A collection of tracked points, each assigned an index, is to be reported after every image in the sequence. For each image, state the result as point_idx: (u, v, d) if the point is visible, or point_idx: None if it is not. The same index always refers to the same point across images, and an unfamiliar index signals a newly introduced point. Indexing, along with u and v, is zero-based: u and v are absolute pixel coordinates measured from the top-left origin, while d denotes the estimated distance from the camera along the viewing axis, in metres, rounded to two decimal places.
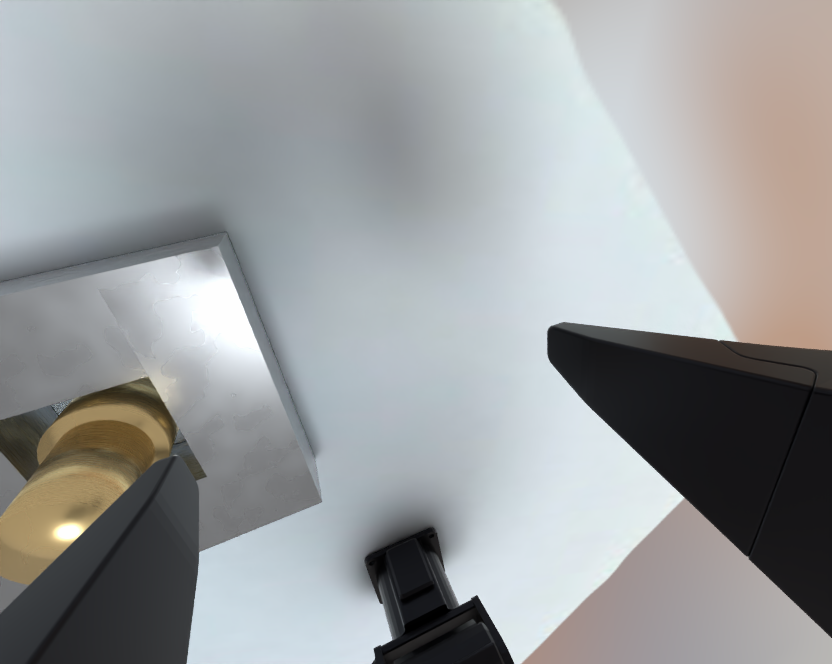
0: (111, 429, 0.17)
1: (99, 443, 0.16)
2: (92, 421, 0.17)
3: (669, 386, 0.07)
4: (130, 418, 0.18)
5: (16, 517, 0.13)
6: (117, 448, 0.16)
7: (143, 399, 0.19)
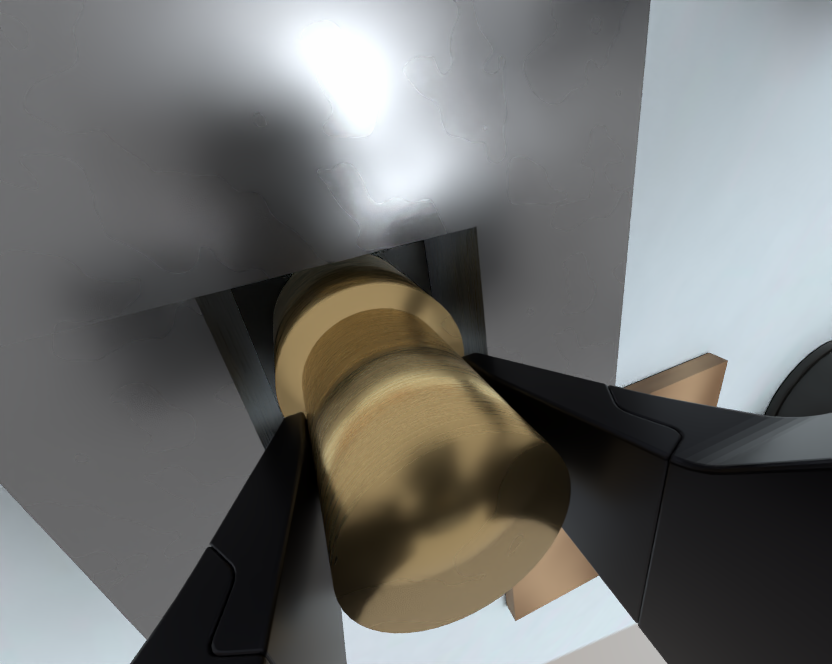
0: (310, 372, 0.08)
1: (312, 401, 0.08)
2: (302, 391, 0.09)
3: (554, 434, 0.06)
4: (305, 339, 0.09)
5: (355, 603, 0.05)
6: (329, 375, 0.07)
7: (292, 310, 0.10)
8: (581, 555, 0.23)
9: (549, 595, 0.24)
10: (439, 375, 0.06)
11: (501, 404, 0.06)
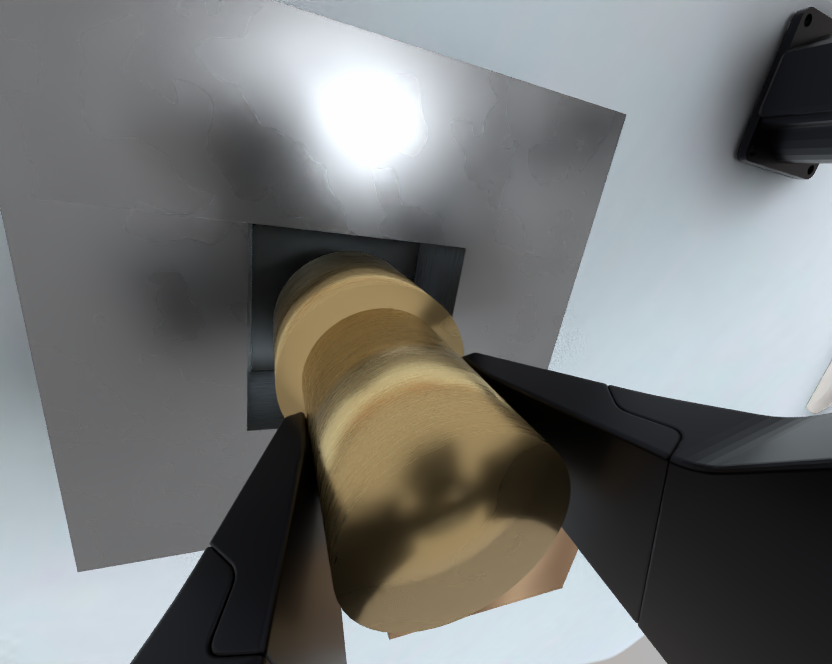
0: (310, 372, 0.08)
1: (312, 401, 0.08)
2: (302, 391, 0.09)
3: (554, 435, 0.06)
4: (304, 339, 0.09)
5: (355, 603, 0.05)
6: (328, 375, 0.07)
7: (292, 310, 0.10)
8: None
9: None
10: (439, 376, 0.06)
11: (501, 404, 0.06)
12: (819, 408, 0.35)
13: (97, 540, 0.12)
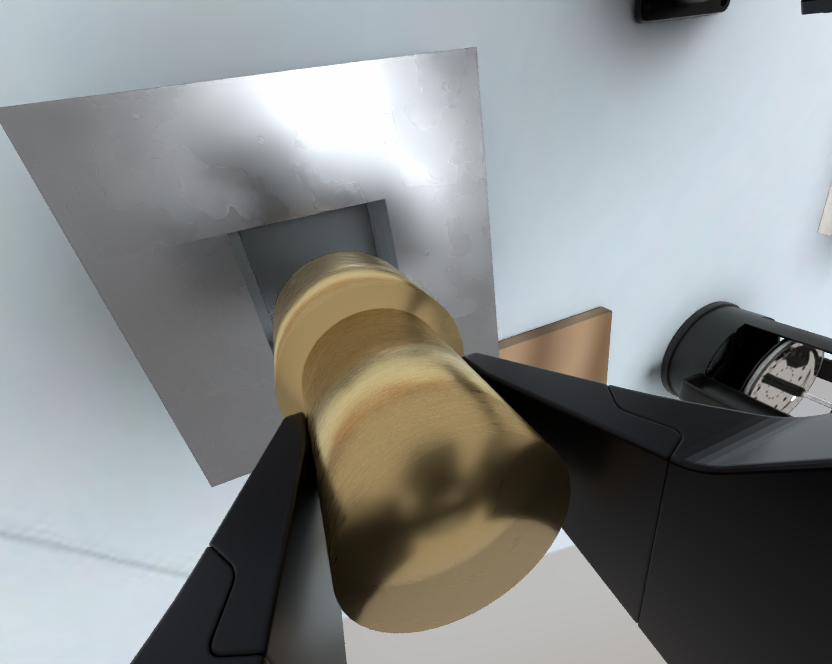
0: (310, 372, 0.08)
1: (312, 401, 0.08)
2: (302, 391, 0.09)
3: (554, 435, 0.06)
4: (305, 339, 0.09)
5: (355, 604, 0.05)
6: (328, 375, 0.07)
7: (291, 310, 0.10)
8: None
9: None
10: (439, 376, 0.06)
11: (501, 404, 0.06)
12: None
13: (215, 464, 0.18)
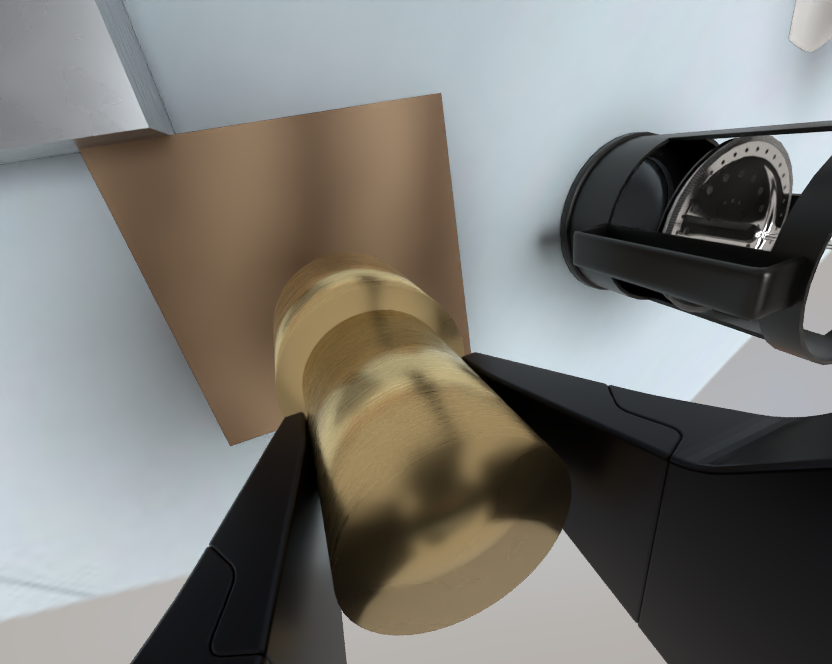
0: (310, 373, 0.08)
1: (313, 402, 0.08)
2: (302, 393, 0.09)
3: (554, 435, 0.06)
4: (305, 340, 0.09)
5: (355, 606, 0.05)
6: (329, 377, 0.07)
7: (292, 312, 0.10)
8: None
9: (275, 417, 0.20)
10: (439, 378, 0.06)
11: (501, 406, 0.06)
12: (815, 39, 0.24)
13: None
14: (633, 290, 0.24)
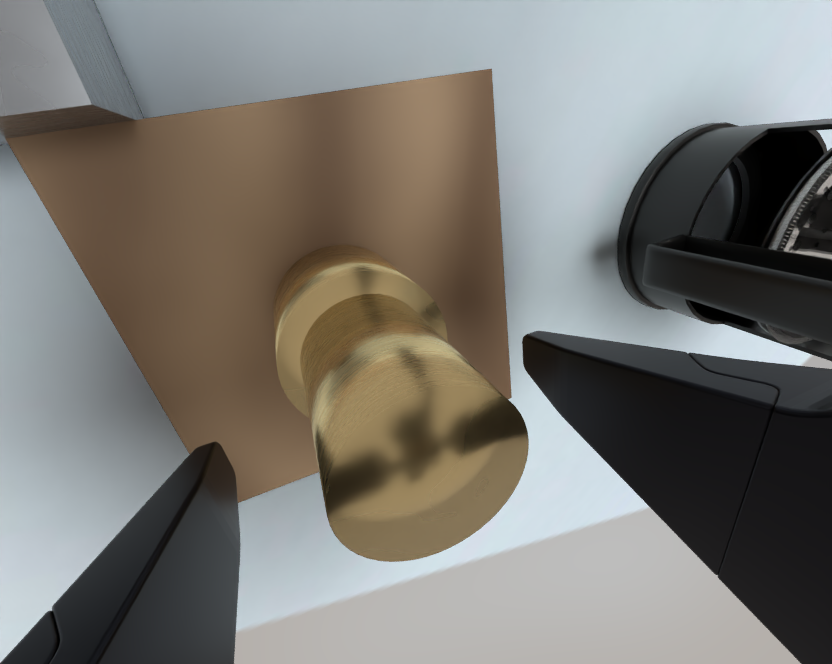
0: (307, 349, 0.10)
1: (309, 372, 0.09)
2: (300, 368, 0.10)
3: (637, 400, 0.07)
4: (303, 321, 0.10)
5: (345, 530, 0.06)
6: (323, 349, 0.08)
7: (291, 296, 0.11)
8: None
9: (276, 473, 0.16)
10: (417, 345, 0.07)
11: (469, 368, 0.07)
12: None
13: None
14: (701, 311, 0.20)
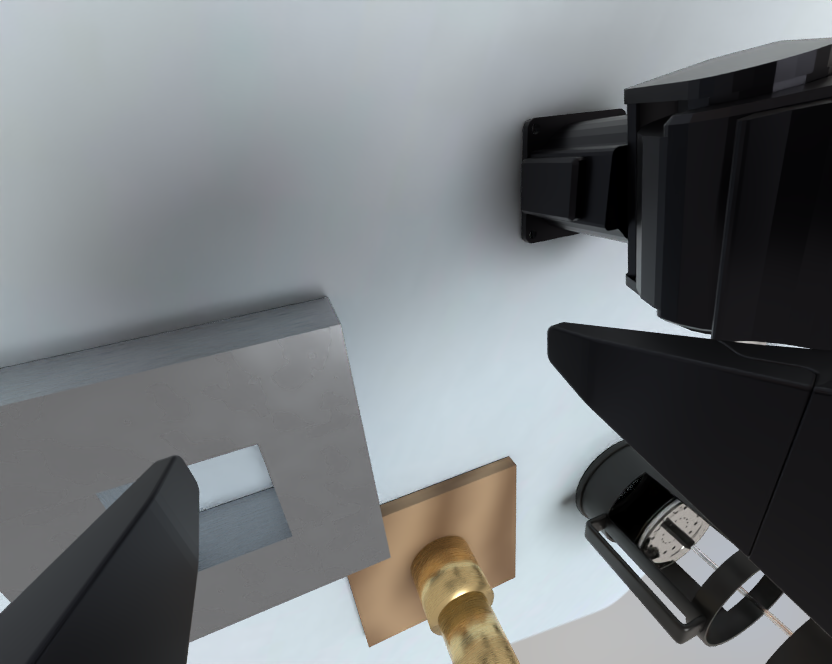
0: (445, 620, 0.25)
1: (450, 638, 0.24)
2: (438, 620, 0.26)
3: (669, 386, 0.07)
4: (442, 606, 0.26)
5: None
6: (457, 632, 0.24)
7: (433, 586, 0.27)
8: (419, 599, 0.31)
9: (396, 628, 0.32)
10: (493, 646, 0.23)
11: (510, 657, 0.23)
12: None
13: None
14: (620, 528, 0.36)
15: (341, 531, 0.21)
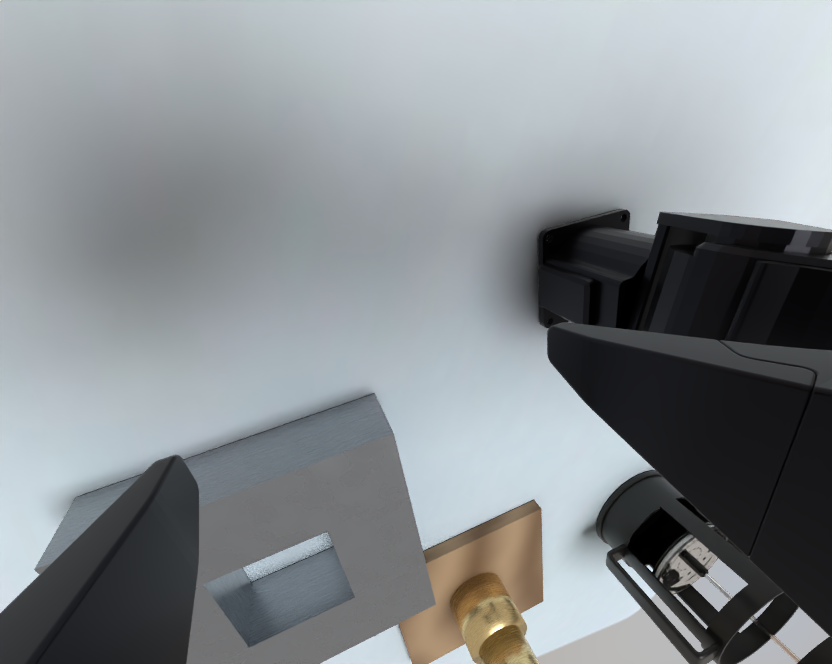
0: (486, 653, 0.29)
1: None
2: (479, 652, 0.29)
3: (669, 386, 0.07)
4: (482, 640, 0.29)
5: None
6: None
7: (472, 622, 0.30)
8: (458, 627, 0.35)
9: (438, 653, 0.35)
10: None
11: None
12: None
13: None
14: (639, 552, 0.39)
15: (394, 588, 0.25)
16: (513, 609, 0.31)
